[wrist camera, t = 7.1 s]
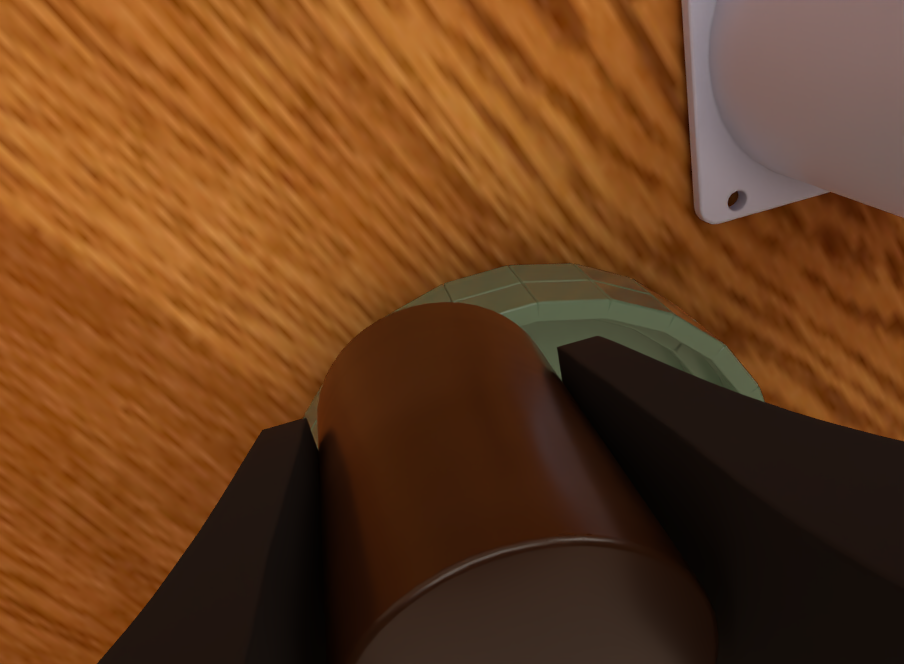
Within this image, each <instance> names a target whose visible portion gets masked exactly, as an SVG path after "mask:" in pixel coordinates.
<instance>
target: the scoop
mask: <svg viewBox="0 0 904 664" xmlns="http://www.w3.org/2000/svg"><path fill="white" fill-rule="evenodd" d="M317 425H318V451H319V477H320V503H321V529H322V555H323V581H324V607H325V633H326V660H327V664H716V662H717V657H718V645H719V634H718V627H717V620H716V614H715V611H714V608H713V606H712V603H711V600H710V598H709V596H708V594H707V592H706V591H705V589H704V587H703V586H702V584H701V582H700V581H699V580H698V578H697V577H696V575H695V574H694V572H693V571H692V569H691V568H690V566H689V565H688V564H687V562H686V561H685V559H684V558H683V556H682V555H681V553H680V552H679V551H678V549H677V548H676V546H675V545H674V543H673V542H672V540H671V539H670V537H669V536H668V535H667V533H666V532H665V530H664V529H663V527H662V526H661V524H660V523H659V521H658V520H657V519H656V517H655V516H654V514H653V513H652V511H651V510H650V508H649V507H648V506H647V504H646V503H645V501H644V500H643V498H642V497H641V495H640V494H639V492H638V491H637V490H636V488H635V487H634V485H633V484H632V482H631V481H630V479H629V478H628V476H627V475H626V474H625V472H624V471H623V469H622V468H621V466H620V465H619V463H618V462H617V461H616V459H615V458H614V456H613V455H612V453H611V452H610V450H609V449H608V447H607V446H606V445H605V443H604V442H603V440H602V439H601V437H600V436H599V434H598V433H597V431H596V430H595V429H594V427H593V426H592V424H591V423H590V421H589V420H588V418H587V417H586V415H585V414H584V413H583V411H582V410H581V408H580V407H579V405H578V404H577V402H576V401H575V400H574V398H573V397H572V395H571V394H570V392H569V391H568V389H567V388H566V386H565V385H564V384H563V382H562V381H561V379H560V378H559V376H558V375H557V373H556V372H555V370H554V369H553V368H552V366H551V365H550V363H549V362H548V360H547V359H546V357H545V356H544V355H543V353H542V352H541V350H540V349H539V347H538V346H537V344H536V343H535V342H534V341H533V339H532V338H531V337H530V336H529V335H528V334H527V333H526V332H525V331H524V330H523V329H522V328H521V327H520V326H518V325H517V324H516V323H514V322H513V321H511V320H510V319H508V318H507V317H505V316H503V315H501V314H499V313H497V312H495V311H493V310H490V309H487V308H484V307H480V306H477V305H472V304H466V303H458V302H437V303H426V304H422V305H417V306H412V307H409V308H406V309H403V310H400V311H397V312H394V313H392V314H390V315H388V316H386V317H384V318H382V319H380V320H378V321H377V322H375V323H373V324H372V325H370V326H369V327H367V328H366V329H364V330H363V331H362V332H361V333H360V334H358V335H357V336H356V337H355V338H354V339H353V340H352V341H351V342H350V343H349V344H348V345H347V346H346V347H345V348H344V349H343V350H342V351H341V353H340V354H339V356H338V357H337V358H336V360H335V361H334V362H333V364H332V366H331V368H330V370H329V372H328V373H327V375H326V377H325V380H324V383H323V386H322V389H321V392H320V397H319V402H318V413H317Z"/></svg>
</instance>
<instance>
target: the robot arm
mask: <svg viewBox="0 0 904 664" xmlns="http://www.w3.org/2000/svg"><path fill="white" fill-rule="evenodd" d="M681 1H682V18H683V34H684V50H685V67H686V83H687V99H688V116H689V132H690V148H691V164H692V181H693V197H694V209H695V213H696V215H697V216H698V217H699V218H700V219H701V220H703V221H705V222H707V223H710V224H720V223H723V222H727V221H730V220H734V219H737V218H741V217H744V216H748V215H751V214H755V213H758V212H762V211H765V210H769V209H772V208H776V207H779V206H783V205H786V204H790V203H793V202H797V201H800V200H804V199H807V198H811V197H814V196H818V195H821V194H825V193H828V192H832V193H835V194H838V195H841V196H844V197H847V198H849V199H852V200H855V201H858V202H861V203H863V204H866V205H869V206H872V207H875V208H877V209H880V210H883V211H886V212H889V213H892V214H894V215H897V216H900V217H903V218H904V0H681ZM736 191H738V199H737V201H736V202H735V203H734V204H733V205H732V206H730V207H728V199H729V197H730V196H731V194H732V193H734V192H736ZM557 352H558V358H559V364H560V371H561V377H562V382H563V384H564V385H565V386H566V388H567V389H568V391H569V392H570V394H571V395H572V397H573V398H574V400H575V401H576V402H577V404H578V405H579V407H580V408H581V410H582V411H583V413H584V414H585V415H586V417H587V418H588V420H589V421H590V423H591V424H592V426H593V427H594V429H595V430H596V431H597V433H598V434H599V436H600V437H601V439H602V440H603V442H604V443H605V445H606V446H607V447H608V449H609V450H610V452H611V453H612V455H613V456H614V458H615V459H616V461H617V462H618V463H619V465H620V466H621V468H622V469H623V471H624V472H625V474H626V475H627V476H628V478H629V479H630V481H631V482H632V484H633V485H634V487H635V488H636V490H637V491H638V492H639V494H640V495H641V497H642V498H643V500H644V501H645V503H646V504H647V506H648V507H649V508H650V510H651V511H652V513H653V514H654V516H655V517H656V519H657V520H658V521H659V523H660V524H661V526H662V527H663V529H664V530H665V532H666V533H667V535H668V536H669V537H670V539H671V540H672V542H673V543H674V545H675V546H676V548H677V549H678V551H679V552H680V553H681V555H682V556H683V558H684V559H685V561H686V562H687V564H688V565H689V566H690V568H691V569H692V571H693V572H694V574H695V575H696V577H697V578H698V580H699V581H700V582H701V584H702V586H703V587H704V589H705V591H706V592H707V594H708V596H709V598H710V600H711V603H712V606H713V608H714V611H715V614H716V620H717V627H718V634H719V645H718V657H717V662H716V664H904V441H900V440H895V439H891V438H887V437H882V436H878V435H875V434H871V433H867V432H863V431H860V430H856V429H852V428H848V427H845V426H841V425H837V424H833V423H829V422H826V421H822V420H819V419H815V418H812V417H809V416H805V415H802V414H799V413H795V412H792V411H789V410H786V409H783V408H780V407H778V406H775V405H772V404H769V403H766V402H763V401H760V400H757V399H754V398H751V397H748V396H745V395H743V394H740V393H737V392H735V391H732V390H729V389H727V388H724V387H721V386H719V385H716V384H714V383H711V382H709V381H706V380H704V379H701V378H699V377H696V376H694V375H691V374H689V373H687V372H684V371H682V370H679V369H677V368H675V367H672V366H670V365H668V364H665V363H663V362H661V361H658V360H656V359H654V358H651V357H649V356H647V355H645V354H642V353H640V352H638V351H635V350H633V349H631V348H628V347H626V346H624V345H621V344H619V343H617V342H614V341H612V340H609V339H607V338H604V337H601V336H594V337H591V338H587V339H584V340H580V341H576V342H573V343H569V344H566V345H562V346H559V347H557ZM97 664H327V660H326V633H325V607H324V581H323V555H322V529H321V503H320V477H319V451H318V448H317V445H316V443H315V440H314V437H313V434H312V432H311V429H310V426H309V423H308V421H307V418H303V419H300V420H296V421H293V422H289V423H286V424H282V425H279V426H275V427H271V428H268V429H264V430H262V432H261V433H260V435H259V436H258V438H257V440H256V441H255V443H254V444H253V446H252V448H251V449H250V451H249V453H248V454H247V456H246V457H245V459H244V461H243V462H242V464H241V466H240V467H239V469H238V471H237V472H236V474H235V476H234V477H233V479H232V481H231V482H230V484H229V485H228V487H227V489H226V490H225V492H224V494H223V495H222V497H221V499H220V500H219V502H218V503H217V505H216V506H215V508H214V509H213V511H212V513H211V514H210V516H209V517H208V519H207V520H206V522H205V523H204V525H203V527H202V528H201V530H200V531H199V533H198V534H197V536H196V537H195V538H194V540H193V541H192V543H191V544H190V545H189V547H188V548H187V550H186V551H185V552H184V554H183V555H182V557H181V558H180V559H179V561H178V562H177V564H176V565H175V566H174V568H173V569H172V571H171V572H170V573H169V575H168V576H167V578H166V579H165V580H164V582H163V583H162V585H161V586H160V587H159V589H158V590H157V592H156V593H155V594H154V596H153V597H152V598H151V599H150V601H149V602H148V603H147V605H146V606H145V607H144V608H143V610H142V611H141V612H140V613H139V615H138V616H137V617H136V618H135V620H134V621H133V622H132V623H131V625H130V626H129V627H128V628H127V630H126V631H125V632H124V633H123V634H122V635H121V636H120V638H119V639H118V640H117V641H116V642H115V643H114V645H113V646H112V647H111V648H110V649H109V650H108V652H107V653H106V654H105V655H104V656H103V657H102V659H101V660H100V661H99V662H98V663H97Z"/></svg>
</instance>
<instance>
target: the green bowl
mask: <svg viewBox="0 0 904 664" xmlns="http://www.w3.org/2000/svg"><path fill="white" fill-rule="evenodd" d="M437 302H458V303H466V304H472V305H477V306H480V307H484V308H487V309H490V310H493V311H495V312H497V313H499V314H501V315H503V316H505V317H507V318H508V319H510V320H511V321H513V322H514V323H516V324H517V325H518V326H520V327H521V328H522V329H523V330H524V331H525V332H526V333H527V334H528V335H529V336H530V337H531V338H532V339H533V341H534V342H535V343H536V344H537V346H538V347H539V349H540V350H541V352H542V353H543V355H544V356H545V357H546V359H547V360H548V362H549V363H550V365H551V366H552V368H553V369H554V370H555V372H556V373H557V375H558V376H559V378H560V379H561V381H562V377H561V371H560V364H559V358H558V352H557V347H559V346H562V345H566V344H569V343H573V342H576V341H580V340H584V339H587V338H591V337H594V336H601V337H604V338H607V339H609V340H612V341H614V342H617V343H619V344H621V345H624V346H626V347H628V348H631V349H633V350H635V351H638V352H640V353H642V354H645V355H647V356H649V357H651V358H654V359H656V360H658V361H661V362H663V363H665V364H668V365H670V366H672V367H675V368H677V369H679V370H682V371H684V372H687V373H689V374H691V375H694V376H696V377H699V378H701V379H704V380H706V381H709V382H711V383H714V384H716V385H719V386H721V387H724V388H727V389H729V390H732V391H735V392H737V393H740V394H743V395H745V396H748V397H751V398H754V399H757V400H760V401H763V402H765V401H764V398H763V396H762V393H761V390H760V387H759V386H758V383H757V382H756V381H755V380H754V379H753V377H752V376H751V375H750V374H749V372H748V371H747V370H746V369H745V368H744V366H743V365H742V364H741V363H740V362H739V360H738V359H737V358H736V357H735V355H734V354H733V353H732V352H731V351H730V349H729V348H728V347H727V346H726V345H725V344H724V343H723V342H722V341H720V340H719V339H718V338H717V337H715V336H714V335H713V334H712V333H710V332H709V331H708V330H707V329H705V328H704V327H703V326H702V325H700V324H699V323H698V322H697V321H696V320H694V319H693V318H692V317H691V316H689V315H688V314H687V313H686V312H684V311H683V310H682V309H681V308H679V307H678V306H677V305H675V304H674V303H672V302H670V301H669V300H667V299H666V298H664V297H662V296H661V295H659V294H657V293H656V292H654V291H652V290H651V289H649V288H647V287H646V286H644V285H642V284H641V283H639V282H638V281H636V280H634V279H631V278H630V277H626V276H622V275H618V274H614V273H610V272H606V271H602V270H598V269H594V268H590V267H586V266H582V265H578V264H571V263H568V264H530V265H509V266H503V267H500V268H496V269H493V270H489V271H486V272H482V273H479V274H475V275H472V276H468V277H465V278H461V279H457V280H454V281H450V282H447V283H444V285H443V284H442V285H440V286H438V287H436V288H434V289H433V290H431V291H429V292H427V293H426V294H424V295H422V296H420V297H419V298H417V299H415V300H413V301H411V302H410V303H408V304H406V305H404V306H403V307H401V308H399V309H397V310H396V311H394V312H397V311H400V310H403V309H406V308H409V307H412V306H417V305H422V304H426V303H437ZM394 312H392V313H394ZM392 313H390V314H392ZM390 314H389V315H390ZM387 316H388V315H387ZM385 317H386V316H385ZM322 386H323V385H322ZM322 386H321V388H320V390H319V391H318V393H317V394H316V396H315V398H314V399H313V401H312V403H311V404H310V406H309V408H308V409H307V411H306V413H305V415H304V417H303V418H307V421H308V423H309V426H310V429H311V432H312V434H313V437H314V440H315V443H316V445H317V448H318V425H317V413H318V402H319V397H320V392H321V389H322Z"/></svg>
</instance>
